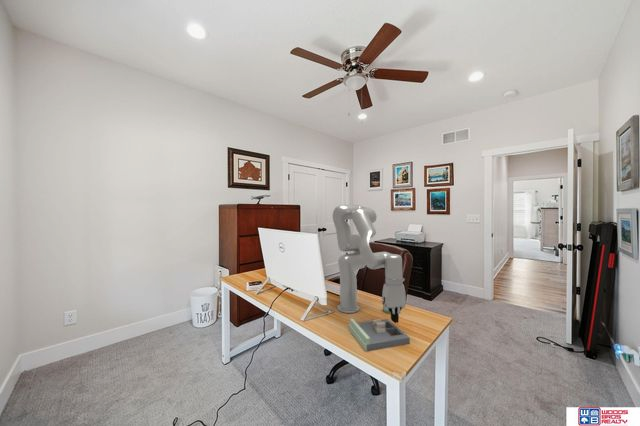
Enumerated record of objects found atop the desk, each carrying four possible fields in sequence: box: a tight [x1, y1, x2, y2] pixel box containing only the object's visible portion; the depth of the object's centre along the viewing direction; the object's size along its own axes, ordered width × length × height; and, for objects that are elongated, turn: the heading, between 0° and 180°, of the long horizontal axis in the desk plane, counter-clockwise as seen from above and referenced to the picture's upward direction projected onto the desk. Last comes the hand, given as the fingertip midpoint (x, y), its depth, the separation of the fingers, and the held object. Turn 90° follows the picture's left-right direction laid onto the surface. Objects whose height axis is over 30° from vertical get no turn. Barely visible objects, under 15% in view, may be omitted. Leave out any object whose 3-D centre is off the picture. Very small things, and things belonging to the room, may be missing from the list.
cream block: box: [372, 318, 386, 333], centre depth 107 cm, size 4×4×4 cm
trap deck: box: [348, 318, 411, 352], centre depth 107 cm, size 18×21×5 cm
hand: (394, 321), depth 108 cm, fingers closed
